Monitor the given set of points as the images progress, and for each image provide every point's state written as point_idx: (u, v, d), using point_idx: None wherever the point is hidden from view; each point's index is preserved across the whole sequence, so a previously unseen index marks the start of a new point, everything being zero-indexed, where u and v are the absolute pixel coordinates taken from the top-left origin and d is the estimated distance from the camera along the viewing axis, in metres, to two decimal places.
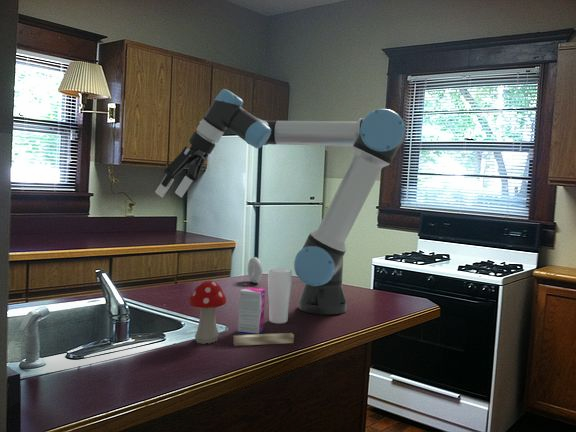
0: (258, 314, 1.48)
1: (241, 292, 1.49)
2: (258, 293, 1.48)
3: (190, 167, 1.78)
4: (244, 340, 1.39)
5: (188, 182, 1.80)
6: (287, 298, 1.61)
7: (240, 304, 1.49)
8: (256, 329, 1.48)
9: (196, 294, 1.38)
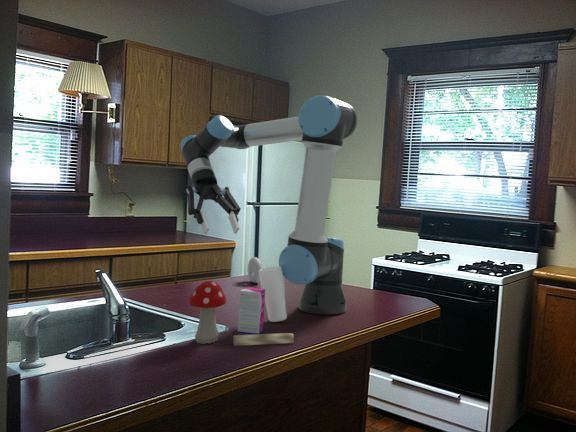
0: (258, 314, 1.48)
1: (241, 292, 1.49)
2: (258, 293, 1.48)
3: (221, 205, 1.76)
4: (244, 340, 1.39)
5: (231, 215, 1.72)
6: (282, 295, 1.61)
7: (240, 304, 1.49)
8: (256, 329, 1.48)
9: (196, 294, 1.38)
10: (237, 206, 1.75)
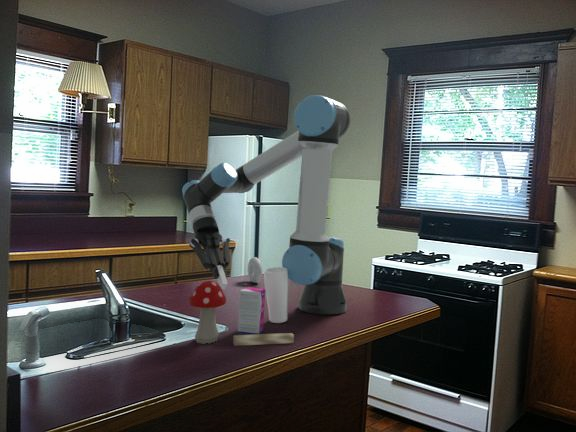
0: (258, 314, 1.48)
1: (241, 292, 1.49)
2: (258, 293, 1.48)
3: (215, 255, 1.71)
4: (244, 340, 1.39)
5: None
6: (285, 298, 1.60)
7: (240, 304, 1.49)
8: (256, 329, 1.48)
9: (196, 294, 1.38)
10: (227, 259, 1.70)
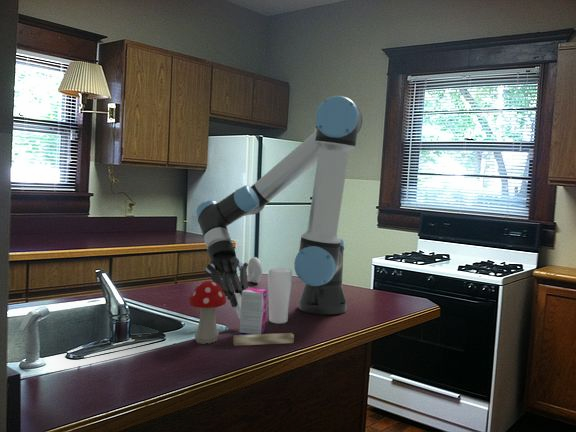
0: (260, 315, 1.47)
1: (243, 293, 1.47)
2: (260, 294, 1.47)
3: (232, 282, 1.61)
4: (244, 340, 1.39)
5: None
6: (287, 298, 1.61)
7: (242, 305, 1.48)
8: (258, 330, 1.47)
9: (196, 294, 1.38)
10: (245, 286, 1.60)
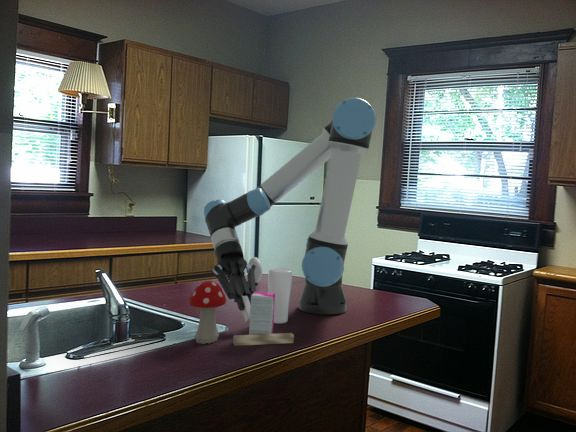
0: (270, 319, 1.43)
1: (252, 297, 1.43)
2: (271, 298, 1.43)
3: (239, 284, 1.57)
4: (244, 340, 1.39)
5: None
6: (287, 298, 1.61)
7: (251, 309, 1.43)
8: None
9: (196, 294, 1.38)
10: (253, 288, 1.56)
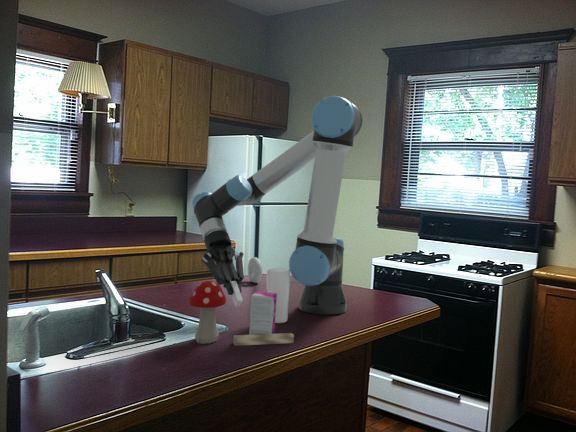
0: (270, 319, 1.43)
1: (253, 297, 1.43)
2: (270, 298, 1.43)
3: (228, 271, 1.65)
4: (244, 340, 1.39)
5: None
6: (286, 298, 1.61)
7: (252, 309, 1.44)
8: None
9: (196, 294, 1.38)
10: (241, 274, 1.63)
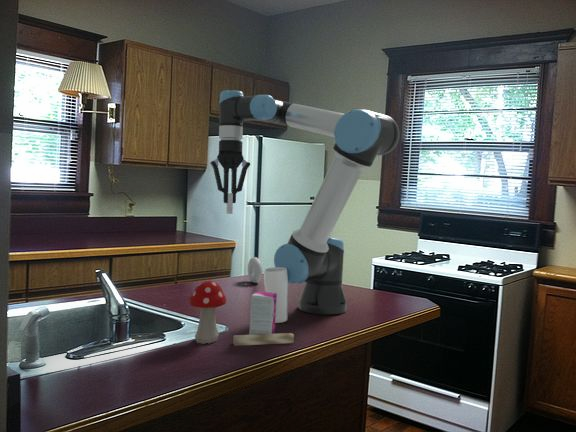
0: (270, 319, 1.43)
1: (253, 297, 1.43)
2: (270, 298, 1.43)
3: (231, 178, 1.84)
4: (244, 340, 1.39)
5: None
6: (285, 297, 1.60)
7: (252, 309, 1.44)
8: None
9: (196, 294, 1.38)
10: (240, 186, 1.83)
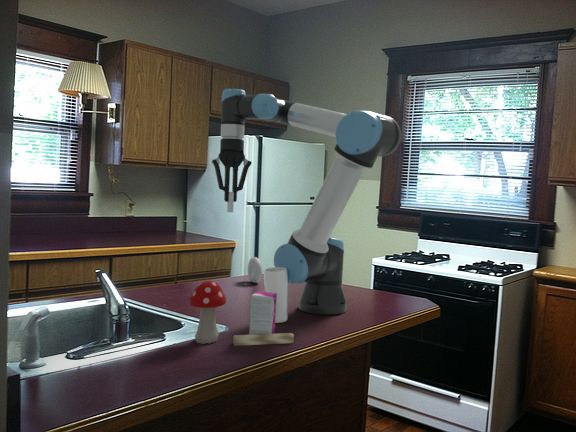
0: (270, 319, 1.43)
1: (253, 297, 1.43)
2: (271, 298, 1.43)
3: None
4: (244, 340, 1.39)
5: None
6: (285, 297, 1.60)
7: (252, 309, 1.44)
8: None
9: (196, 294, 1.38)
10: (241, 185, 1.83)
